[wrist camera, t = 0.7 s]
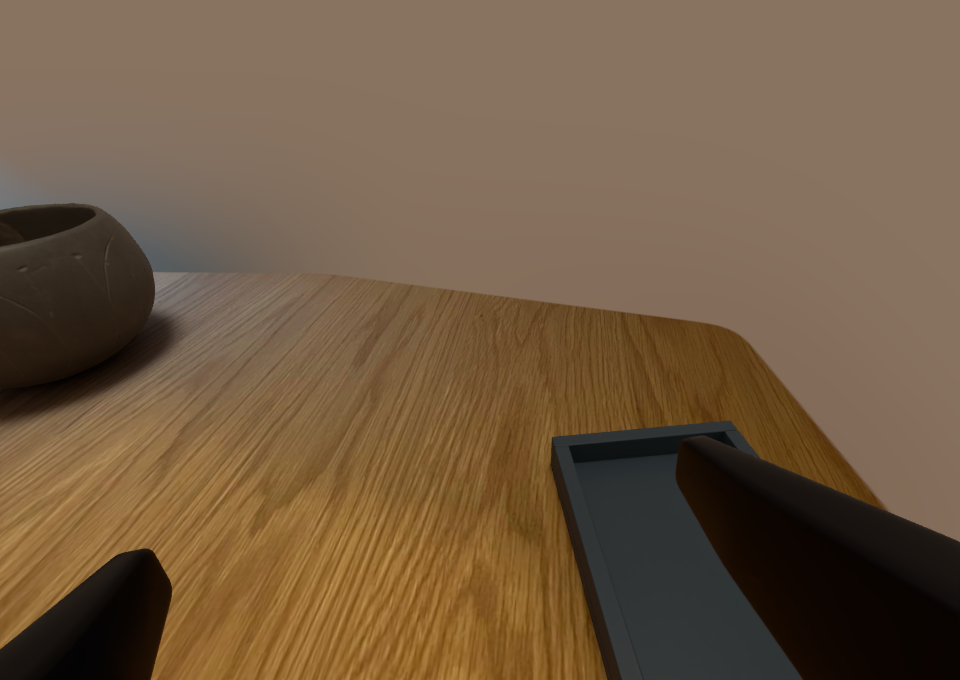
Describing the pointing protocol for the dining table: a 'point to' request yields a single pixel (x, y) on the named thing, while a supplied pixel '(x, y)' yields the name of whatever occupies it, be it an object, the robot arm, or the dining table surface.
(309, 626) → the dining table surface
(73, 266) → the bowl
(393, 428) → the dining table surface
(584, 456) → the dish
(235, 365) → the dining table surface
